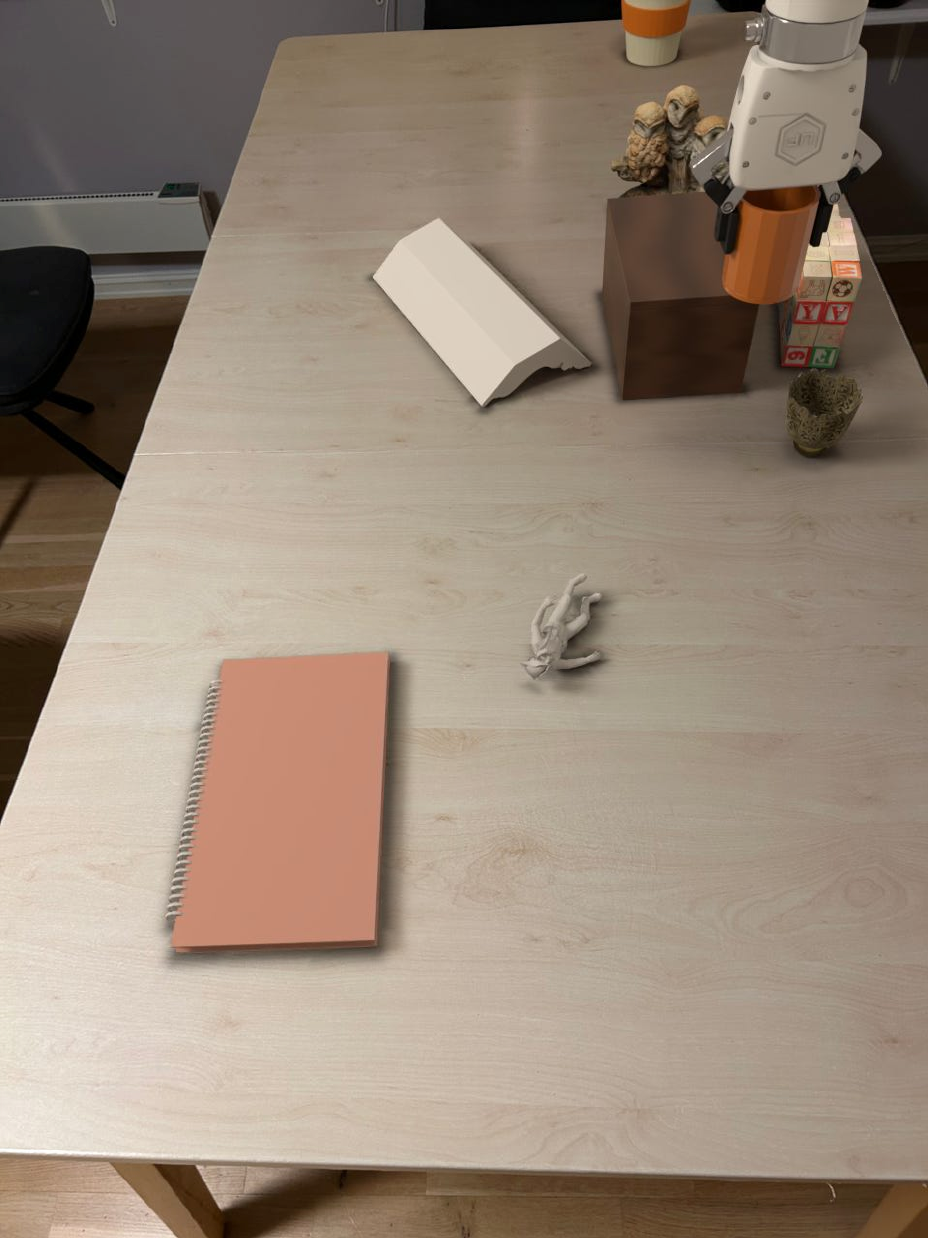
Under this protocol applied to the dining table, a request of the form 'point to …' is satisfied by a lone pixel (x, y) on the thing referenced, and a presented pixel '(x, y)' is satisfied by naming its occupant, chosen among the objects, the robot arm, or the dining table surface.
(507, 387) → the molding piece
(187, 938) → the notebook
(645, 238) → the dark brown wooden block
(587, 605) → the grey humanoid figurine
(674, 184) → the owl figurine
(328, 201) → the dining table surface
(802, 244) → the cup
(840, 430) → the cup
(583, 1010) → the dining table surface
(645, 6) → the reusable coffee cup
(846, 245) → the stack of blocks
